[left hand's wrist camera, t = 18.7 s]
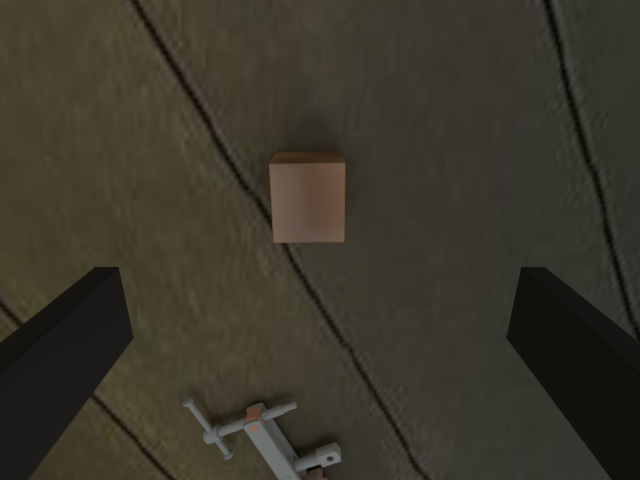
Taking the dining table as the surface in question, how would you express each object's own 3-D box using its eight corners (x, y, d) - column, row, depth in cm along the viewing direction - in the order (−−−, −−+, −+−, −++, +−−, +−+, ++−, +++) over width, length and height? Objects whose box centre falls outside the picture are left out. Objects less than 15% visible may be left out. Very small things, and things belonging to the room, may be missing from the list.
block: (341, 150, 27) (345, 162, 22) (340, 218, 28) (344, 242, 24) (277, 151, 27) (268, 163, 22) (280, 219, 28) (273, 243, 24)
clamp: (358, 492, 35) (261, 523, 37) (356, 470, 37) (264, 500, 39) (284, 370, 30) (175, 411, 32) (286, 353, 32) (184, 392, 34)
